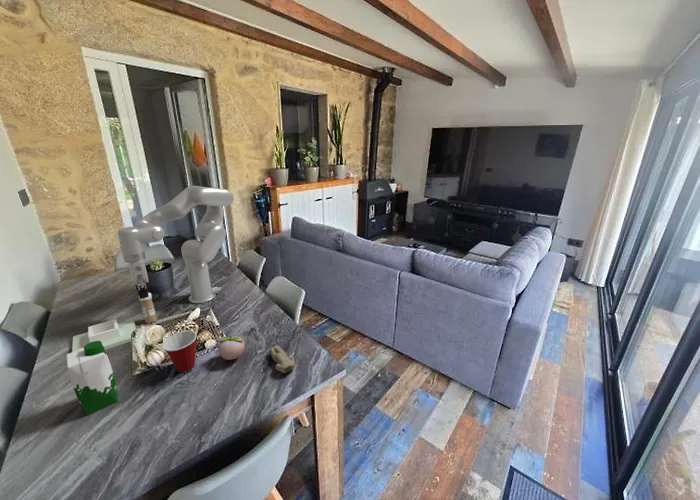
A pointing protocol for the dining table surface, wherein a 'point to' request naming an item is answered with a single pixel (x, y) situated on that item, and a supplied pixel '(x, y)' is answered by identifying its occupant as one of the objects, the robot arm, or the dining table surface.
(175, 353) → the plastic cup
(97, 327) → the chute mount
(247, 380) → the dining table surface
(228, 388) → the dining table surface
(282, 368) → the sculpture
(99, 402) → the milk carton
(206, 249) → the robot arm
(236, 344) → the decorative fruit
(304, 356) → the dining table surface
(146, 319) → the sprinkles bottle
